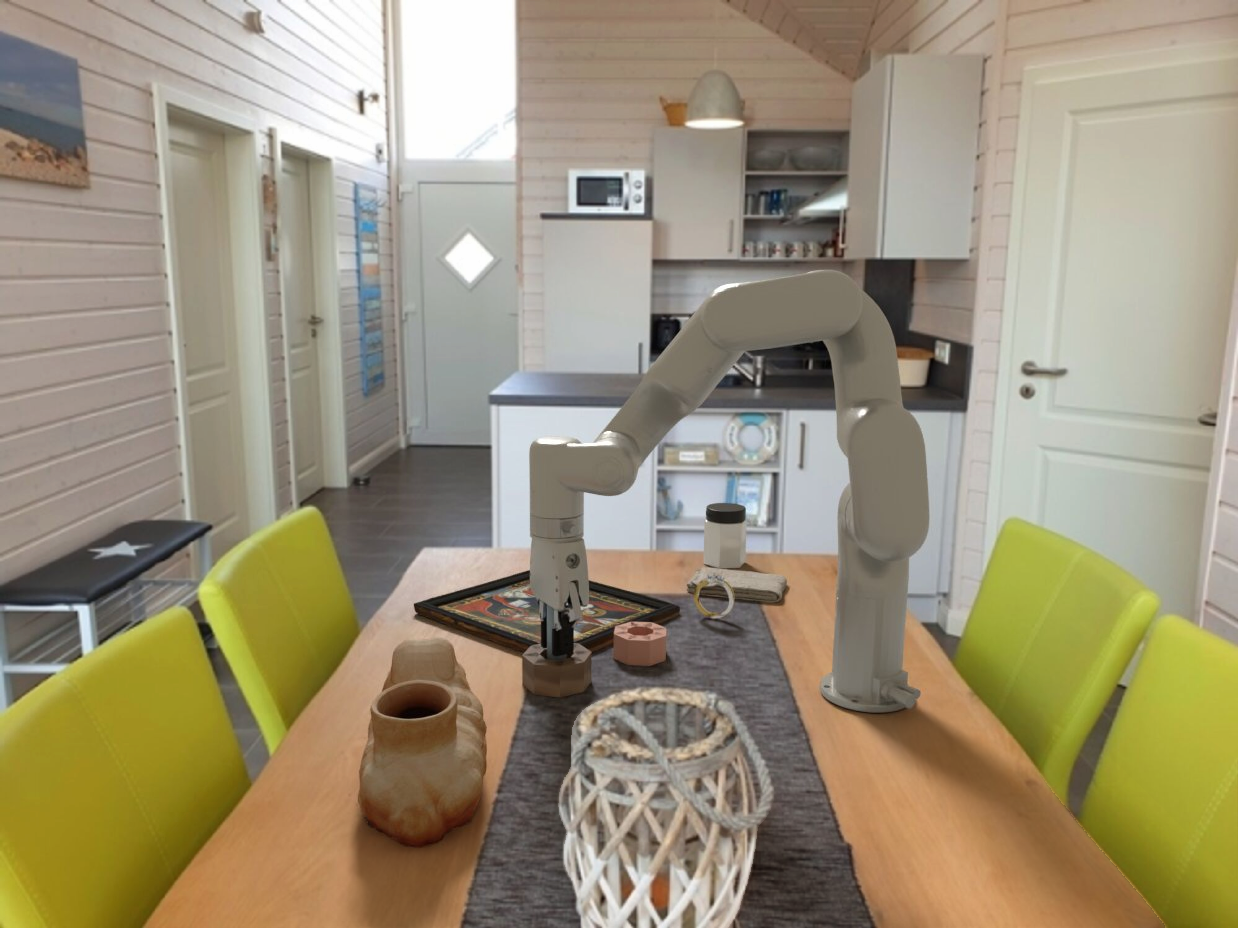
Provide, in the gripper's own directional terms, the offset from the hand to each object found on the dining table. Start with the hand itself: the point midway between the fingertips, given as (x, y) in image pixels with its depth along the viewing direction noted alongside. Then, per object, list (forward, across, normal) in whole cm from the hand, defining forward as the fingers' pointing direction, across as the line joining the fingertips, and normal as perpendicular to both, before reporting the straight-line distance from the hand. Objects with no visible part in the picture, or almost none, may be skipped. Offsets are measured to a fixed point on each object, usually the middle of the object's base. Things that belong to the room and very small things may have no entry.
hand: (557, 649), depth 136 cm
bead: (+5, 0, 0) cm, 5 cm away
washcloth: (+6, +22, -50) cm, 55 cm away
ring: (+5, +11, -36) cm, 38 cm away
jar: (+5, +37, -58) cm, 69 cm away
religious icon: (+6, +27, -12) cm, 30 cm away
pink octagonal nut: (+5, +3, -16) cm, 17 cm away
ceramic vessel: (+5, -18, +26) cm, 32 cm away
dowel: (+3, 0, 0) cm, 3 cm away
